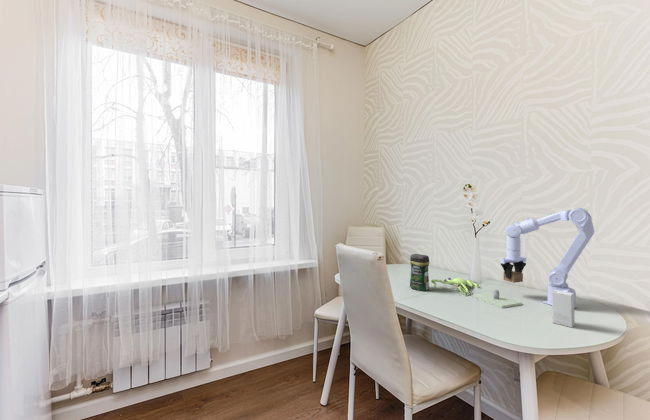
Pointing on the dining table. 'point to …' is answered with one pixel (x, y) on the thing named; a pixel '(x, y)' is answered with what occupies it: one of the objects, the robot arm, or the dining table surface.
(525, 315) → the dining table surface
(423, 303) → the dining table surface
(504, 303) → the board
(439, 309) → the dining table surface
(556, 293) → the skincare box
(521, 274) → the collar
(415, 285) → the coffee jar
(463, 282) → the figurine
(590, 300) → the dining table surface
